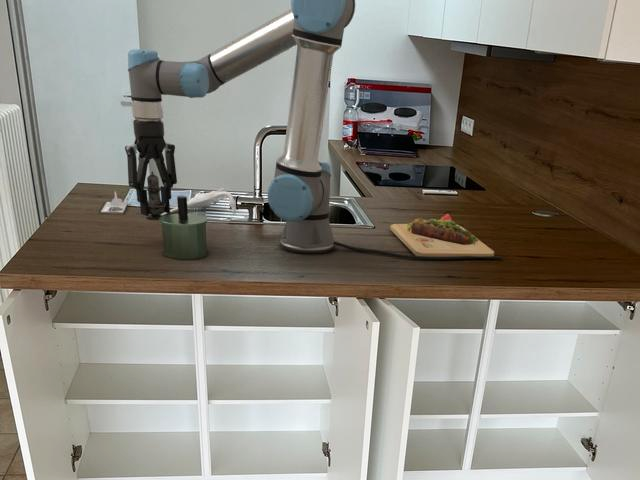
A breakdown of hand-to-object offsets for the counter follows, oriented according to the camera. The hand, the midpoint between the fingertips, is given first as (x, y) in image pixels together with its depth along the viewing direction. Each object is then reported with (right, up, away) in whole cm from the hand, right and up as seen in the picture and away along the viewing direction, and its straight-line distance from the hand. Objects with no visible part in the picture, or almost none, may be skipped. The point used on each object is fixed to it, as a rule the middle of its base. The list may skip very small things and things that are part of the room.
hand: (155, 213), depth 202 cm
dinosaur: (+4, +14, +40) cm, 43 cm away
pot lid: (+9, -5, -7) cm, 13 cm away
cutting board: (+79, -1, +22) cm, 82 cm away
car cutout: (-24, +15, +38) cm, 47 cm away
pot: (+9, -12, -3) cm, 15 cm away
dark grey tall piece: (0, -1, +1) cm, 1 cm away
